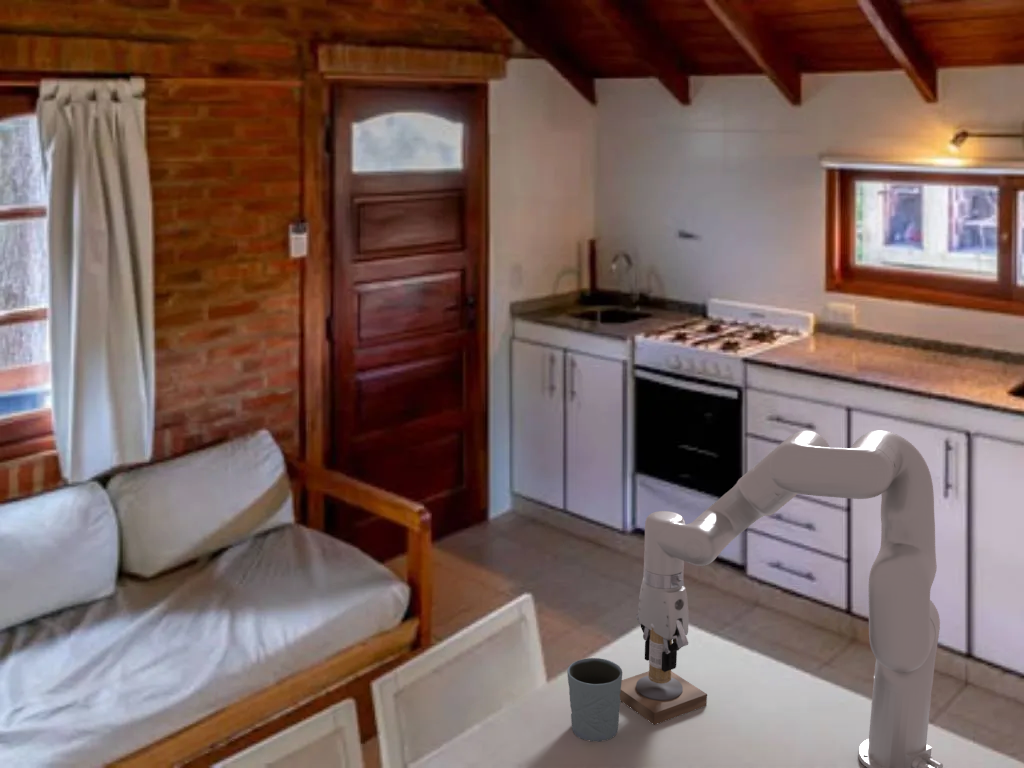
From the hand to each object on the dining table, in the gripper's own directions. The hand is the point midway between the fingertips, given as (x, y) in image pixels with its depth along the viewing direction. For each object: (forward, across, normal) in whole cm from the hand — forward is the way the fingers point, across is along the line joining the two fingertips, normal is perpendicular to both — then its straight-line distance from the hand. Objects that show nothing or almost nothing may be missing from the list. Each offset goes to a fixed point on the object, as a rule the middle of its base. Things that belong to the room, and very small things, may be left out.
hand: (660, 663), depth 210 cm
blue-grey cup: (+8, -1, +17) cm, 19 cm away
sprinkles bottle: (+4, 0, 0) cm, 4 cm away
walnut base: (+8, 0, 0) cm, 8 cm away
